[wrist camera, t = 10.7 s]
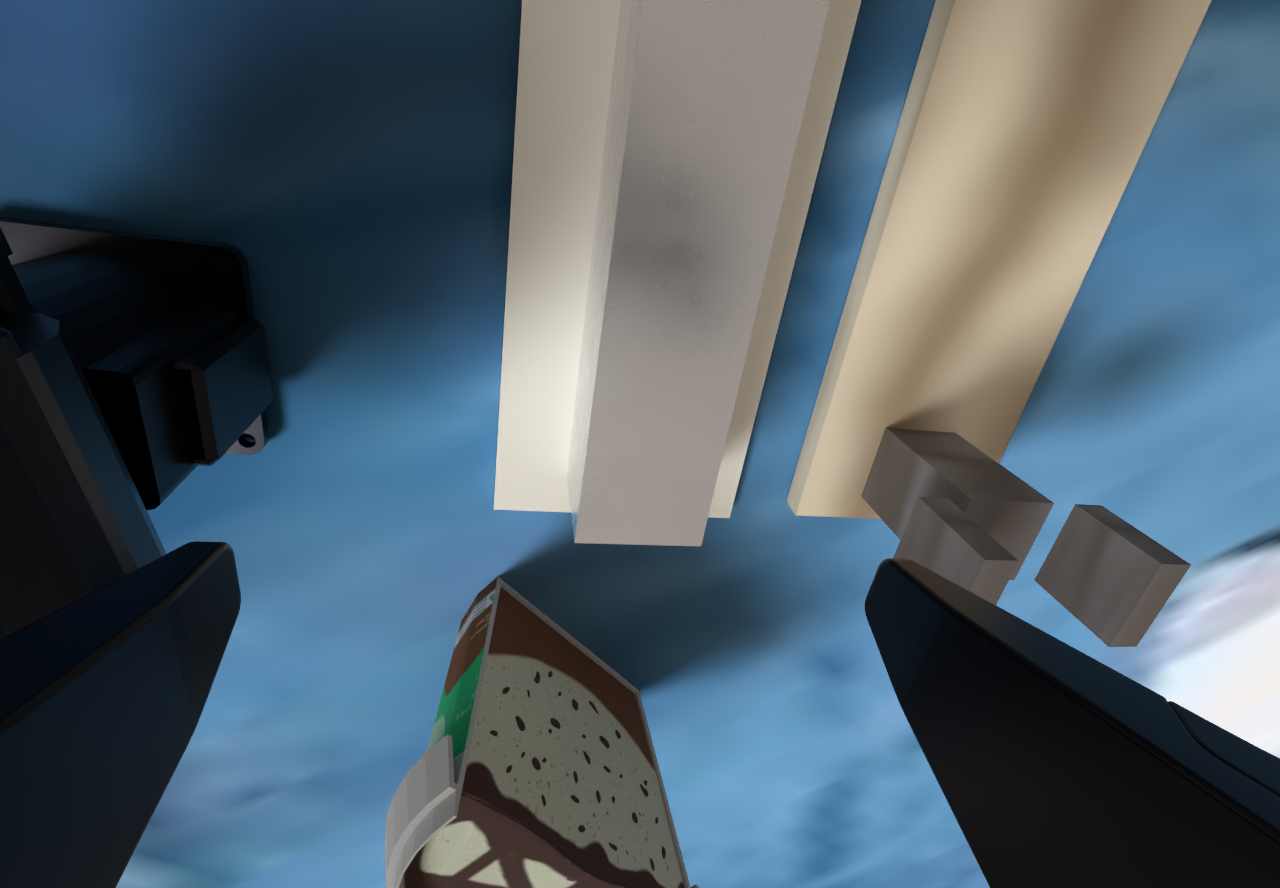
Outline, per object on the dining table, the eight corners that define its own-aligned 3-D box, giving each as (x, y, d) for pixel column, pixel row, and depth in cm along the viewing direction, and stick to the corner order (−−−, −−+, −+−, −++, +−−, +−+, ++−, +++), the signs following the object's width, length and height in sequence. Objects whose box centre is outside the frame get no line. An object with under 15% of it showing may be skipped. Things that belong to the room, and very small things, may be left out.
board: (494, 500, 23) (493, 509, 22) (560, -688, 11) (562, -726, 11) (725, 509, 25) (729, 518, 24) (976, -500, 13) (995, -526, 13)
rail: (566, 476, 22) (574, 543, 19) (682, -538, 12) (746, -808, 9) (674, 481, 23) (701, 546, 19) (864, -461, 13) (990, -680, 9)
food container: (356, 641, 25) (263, 926, 16) (470, 554, 24) (438, 807, 15) (558, 771, 30) (571, 1034, 22) (657, 705, 29) (713, 953, 21)
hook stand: (786, 501, 25) (906, 675, 17) (1062, -424, 14) (1739, -1115, 6) (957, 509, 27) (1138, 671, 19) (1320, -312, 16) (2108, -743, 8)
